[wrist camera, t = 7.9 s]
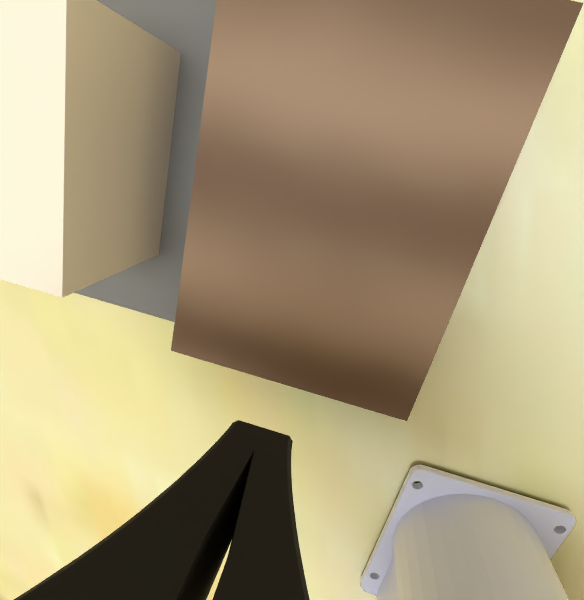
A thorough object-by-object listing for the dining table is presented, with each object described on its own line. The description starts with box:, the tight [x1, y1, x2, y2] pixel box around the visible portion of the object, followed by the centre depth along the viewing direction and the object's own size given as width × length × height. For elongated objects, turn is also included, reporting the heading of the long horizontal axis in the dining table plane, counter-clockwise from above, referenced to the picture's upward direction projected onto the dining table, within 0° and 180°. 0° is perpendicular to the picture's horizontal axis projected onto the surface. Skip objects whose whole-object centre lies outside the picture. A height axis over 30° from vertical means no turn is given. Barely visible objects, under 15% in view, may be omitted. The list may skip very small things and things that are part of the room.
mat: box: [74, 0, 217, 322], centre depth 16 cm, size 14×12×1 cm
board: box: [171, 0, 583, 421], centre depth 14 cm, size 14×10×3 cm
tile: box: [0, 0, 181, 298], centre depth 13 cm, size 8×6×2 cm
